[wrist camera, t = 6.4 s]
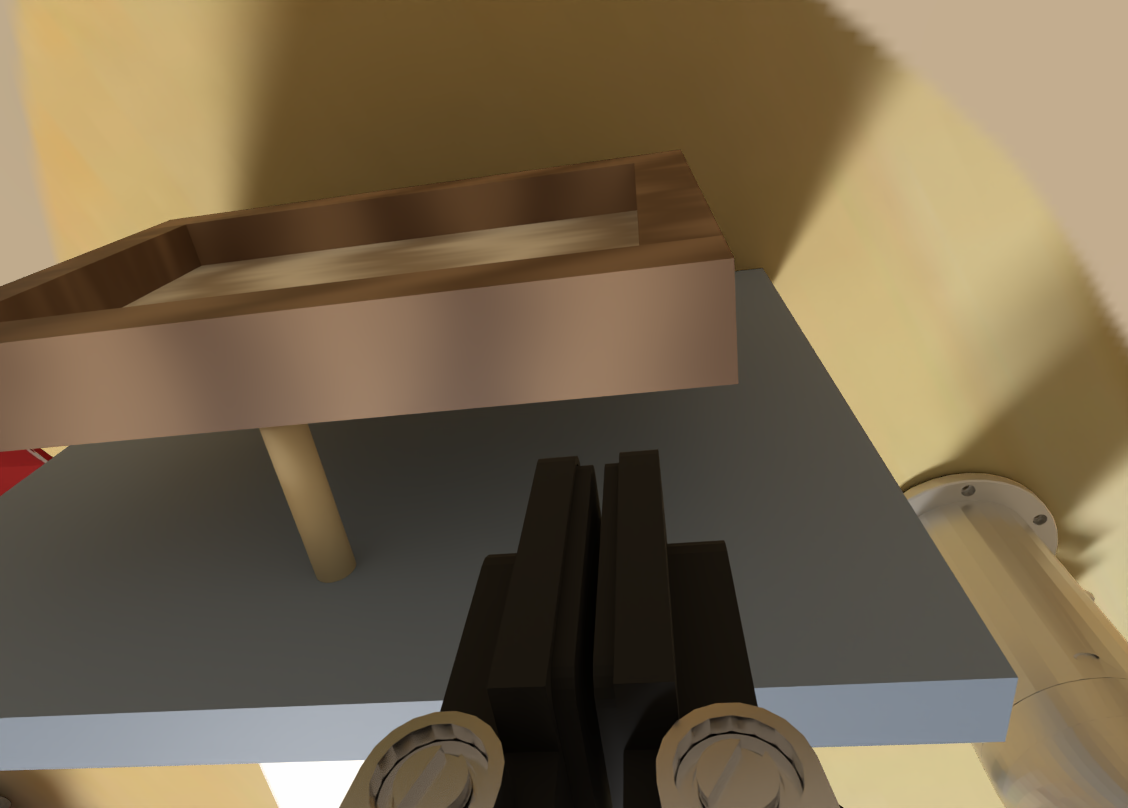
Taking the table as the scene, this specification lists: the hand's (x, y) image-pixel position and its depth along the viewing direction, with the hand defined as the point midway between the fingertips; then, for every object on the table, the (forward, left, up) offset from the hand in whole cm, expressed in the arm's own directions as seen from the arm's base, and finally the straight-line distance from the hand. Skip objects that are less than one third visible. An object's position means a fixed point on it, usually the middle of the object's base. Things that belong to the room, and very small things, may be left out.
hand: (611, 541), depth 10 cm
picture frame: (+8, +4, -24) cm, 26 cm away
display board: (+5, +9, -33) cm, 35 cm away
